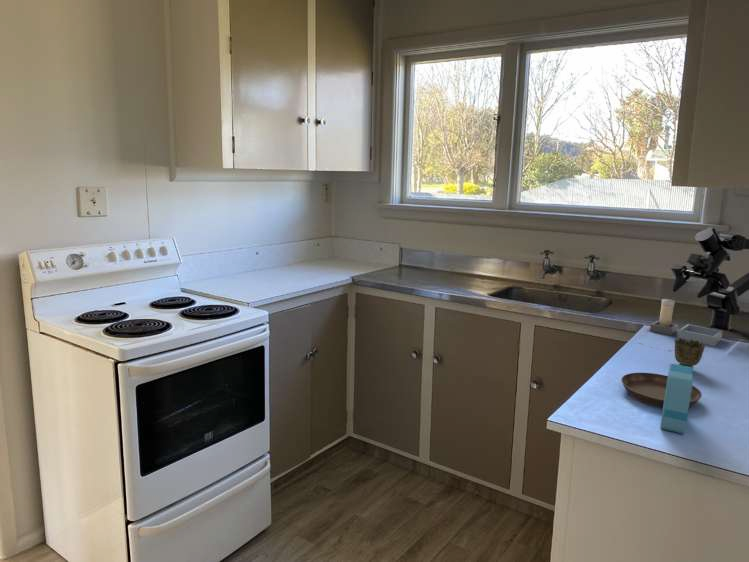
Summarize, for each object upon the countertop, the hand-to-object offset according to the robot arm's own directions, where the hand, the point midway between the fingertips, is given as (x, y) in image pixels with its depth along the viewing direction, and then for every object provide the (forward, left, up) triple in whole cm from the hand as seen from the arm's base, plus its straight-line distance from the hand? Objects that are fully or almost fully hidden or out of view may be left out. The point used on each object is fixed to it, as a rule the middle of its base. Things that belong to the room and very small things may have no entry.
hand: (685, 294), depth 194 cm
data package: (+81, +20, -14) cm, 85 cm away
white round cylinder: (+7, -3, -13) cm, 15 cm away
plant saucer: (+67, +13, -14) cm, 70 cm away
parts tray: (+7, +8, -14) cm, 17 cm away
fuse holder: (+7, -3, -14) cm, 16 cm away
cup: (+40, +12, -14) cm, 45 cm away
